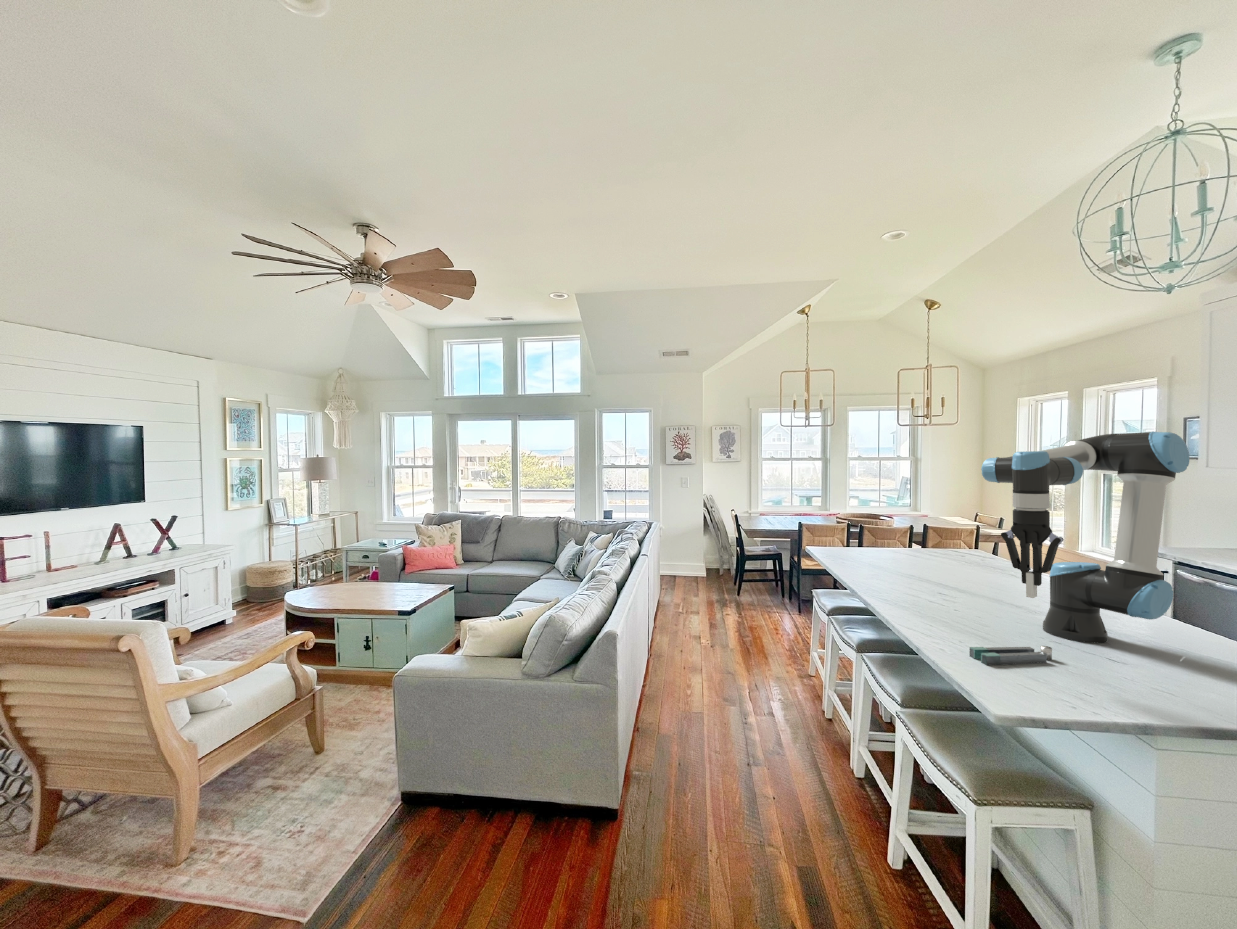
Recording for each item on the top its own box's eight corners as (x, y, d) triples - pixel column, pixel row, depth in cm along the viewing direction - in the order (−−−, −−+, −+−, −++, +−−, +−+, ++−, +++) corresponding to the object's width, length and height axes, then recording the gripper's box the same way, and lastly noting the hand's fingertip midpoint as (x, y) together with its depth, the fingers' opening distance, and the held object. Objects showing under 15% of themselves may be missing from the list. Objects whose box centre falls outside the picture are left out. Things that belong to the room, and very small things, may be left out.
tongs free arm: (1040, 660, 136) (1040, 650, 136) (1046, 662, 134) (1046, 653, 134) (981, 662, 134) (981, 653, 134) (986, 665, 132) (986, 655, 132)
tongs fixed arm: (1042, 654, 139) (1042, 643, 139) (1054, 660, 135) (1054, 649, 135) (969, 656, 139) (969, 645, 139) (979, 661, 135) (979, 650, 135)
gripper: (1067, 509, 126) (1068, 599, 126) (1007, 505, 137) (1008, 588, 137) (1057, 512, 122) (1058, 605, 122) (995, 508, 133) (996, 593, 133)
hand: (1031, 596), depth 130 cm, fingers closed
